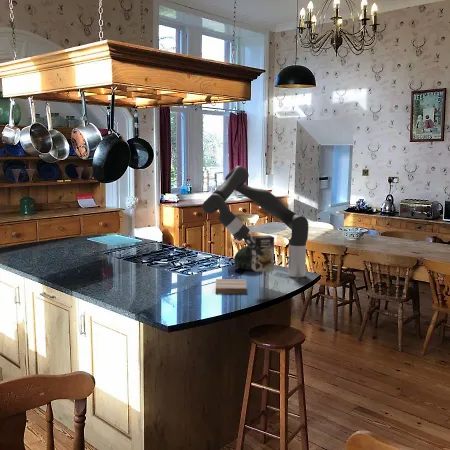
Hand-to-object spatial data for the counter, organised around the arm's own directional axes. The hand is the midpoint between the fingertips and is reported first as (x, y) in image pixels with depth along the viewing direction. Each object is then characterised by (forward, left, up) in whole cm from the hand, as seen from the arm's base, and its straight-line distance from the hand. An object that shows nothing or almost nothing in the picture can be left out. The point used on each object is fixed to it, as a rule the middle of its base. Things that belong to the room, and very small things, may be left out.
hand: (261, 252), depth 240 cm
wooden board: (-7, -14, -20) cm, 25 cm away
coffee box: (0, +1, -8) cm, 8 cm away
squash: (-48, -4, -20) cm, 52 cm away
